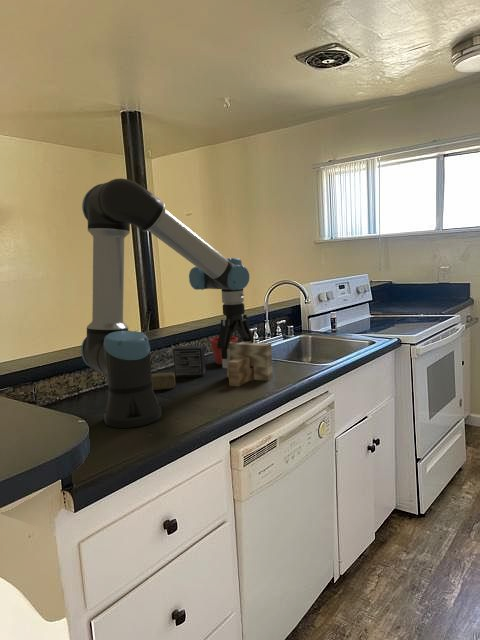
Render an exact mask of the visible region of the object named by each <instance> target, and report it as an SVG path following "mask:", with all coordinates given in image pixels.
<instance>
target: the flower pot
mask: <svg viewBox="0 0 480 640" xmlns="http://www.w3.org/2000/svg"><path fill="white" fill-rule="evenodd" d="M218 339H219V336H218V337H213V338H211V339H210V340H209V341H210V345H211V351H212V353H213V357H214V360H215V363H216V364H217V365H222V351H221V349H218V348H217V344H218ZM238 340H239V339H238V337H236V336H232V337H231V341H230V342H239V341H238ZM225 346H226V345H225Z"/></svg>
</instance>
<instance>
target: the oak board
mask: <svg viewBox="0 0 480 640" xmlns="http://www.w3.org/2000/svg"><path fill="white" fill-rule="evenodd" d="M228 372H229V377H228V381H229V382H228V384H229V385H228V386H230V387H240V386H242V385H244V384H246V383H247V382H248V383H249V381H252V380H254V366H250V360H249V357H238V358H236V359H233V360H231V361H229V362H228Z"/></svg>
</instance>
